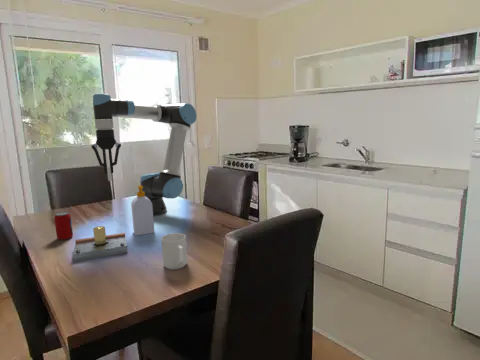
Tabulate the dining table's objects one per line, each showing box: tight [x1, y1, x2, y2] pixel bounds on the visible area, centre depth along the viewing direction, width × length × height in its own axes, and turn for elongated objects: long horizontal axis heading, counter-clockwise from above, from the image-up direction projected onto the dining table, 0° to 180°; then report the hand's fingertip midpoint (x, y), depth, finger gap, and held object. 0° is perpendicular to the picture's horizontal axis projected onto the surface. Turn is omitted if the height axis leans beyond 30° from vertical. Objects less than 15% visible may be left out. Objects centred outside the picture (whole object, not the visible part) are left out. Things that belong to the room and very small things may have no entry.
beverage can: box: [53, 211, 74, 241], centre depth 155 cm, size 7×7×12 cm
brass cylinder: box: [92, 225, 107, 247], centre depth 139 cm, size 4×4×10 cm
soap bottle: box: [130, 184, 155, 236], centre depth 159 cm, size 9×7×23 cm
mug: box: [160, 232, 188, 271], centre depth 122 cm, size 12×9×11 cm
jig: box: [72, 232, 129, 262], centre depth 139 cm, size 20×14×4 cm
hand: (109, 180), depth 154 cm, fingers closed
